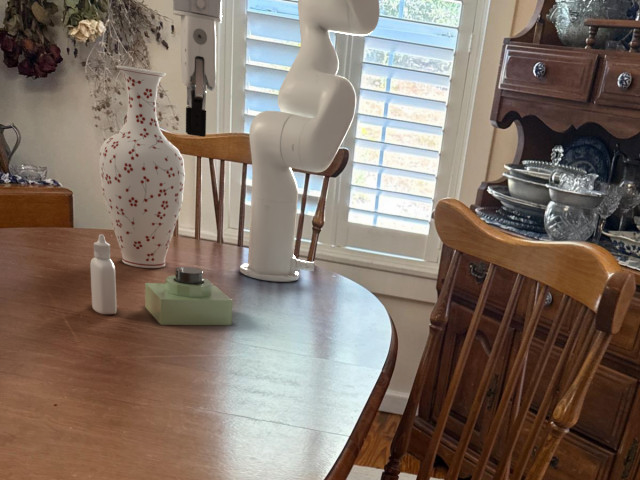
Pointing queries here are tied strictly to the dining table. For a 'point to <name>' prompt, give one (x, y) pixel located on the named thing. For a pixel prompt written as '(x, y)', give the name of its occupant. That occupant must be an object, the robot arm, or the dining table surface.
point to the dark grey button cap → (188, 275)
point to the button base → (188, 303)
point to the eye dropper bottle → (103, 278)
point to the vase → (142, 176)
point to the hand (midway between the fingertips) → (195, 134)
